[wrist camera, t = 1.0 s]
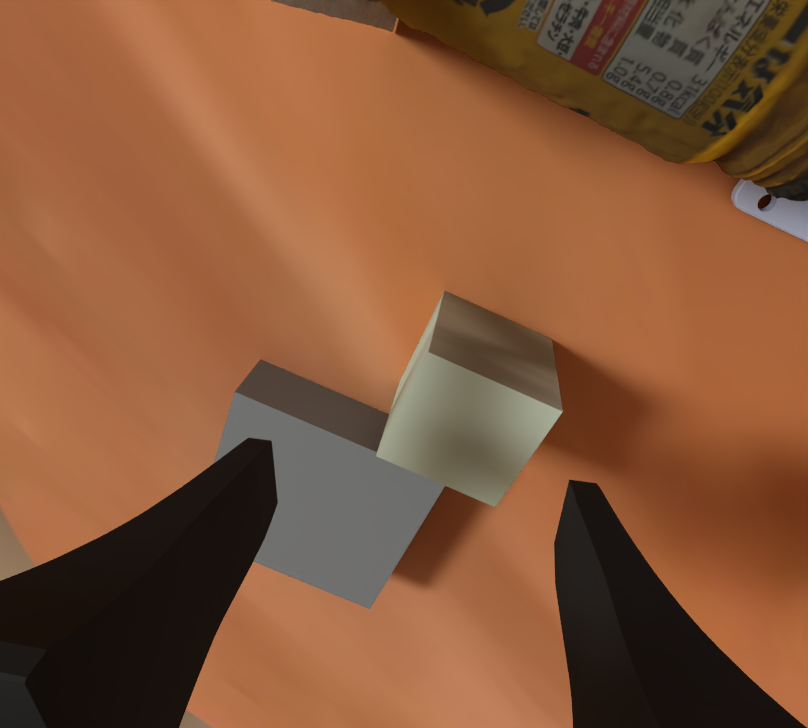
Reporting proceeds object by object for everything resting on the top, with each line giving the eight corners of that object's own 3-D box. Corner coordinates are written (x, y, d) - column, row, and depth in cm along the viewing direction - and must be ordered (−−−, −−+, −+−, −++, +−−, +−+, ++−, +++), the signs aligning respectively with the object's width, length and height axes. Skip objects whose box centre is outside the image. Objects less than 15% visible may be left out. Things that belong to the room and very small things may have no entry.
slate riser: (453, 436, 25) (447, 482, 22) (382, 559, 29) (369, 608, 27) (264, 354, 24) (234, 391, 22) (221, 492, 29) (193, 536, 26)
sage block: (551, 338, 21) (562, 411, 17) (497, 424, 24) (495, 507, 19) (444, 290, 21) (428, 351, 17) (399, 381, 23) (375, 455, 19)
